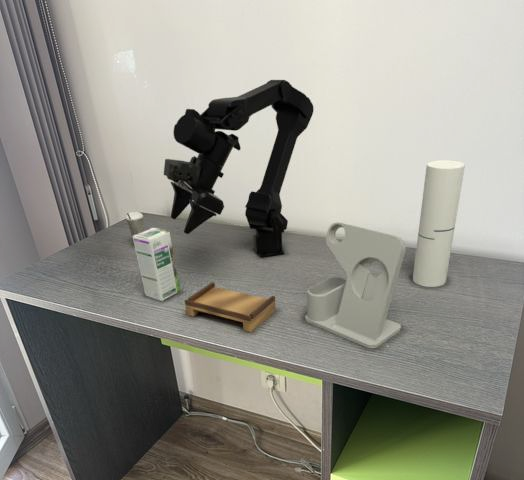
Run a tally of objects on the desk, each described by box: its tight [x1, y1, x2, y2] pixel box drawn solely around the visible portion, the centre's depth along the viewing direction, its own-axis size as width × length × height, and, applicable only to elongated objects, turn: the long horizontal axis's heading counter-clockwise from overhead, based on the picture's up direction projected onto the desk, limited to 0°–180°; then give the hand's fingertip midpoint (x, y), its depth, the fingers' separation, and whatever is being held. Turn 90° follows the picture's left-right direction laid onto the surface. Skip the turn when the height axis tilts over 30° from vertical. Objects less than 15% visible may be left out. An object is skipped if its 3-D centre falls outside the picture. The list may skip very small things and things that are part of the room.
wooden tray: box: [184, 282, 277, 333], centre depth 102 cm, size 16×10×4 cm, turn 59°
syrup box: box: [132, 227, 181, 302], centre depth 109 cm, size 6×6×14 cm
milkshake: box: [125, 211, 145, 243], centre depth 137 cm, size 4×5×10 cm
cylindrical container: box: [412, 159, 466, 288], centre depth 104 cm, size 7×7×25 cm
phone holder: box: [304, 222, 407, 349], centre depth 92 cm, size 17×10×18 cm, turn 45°
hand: (179, 225), depth 110 cm, fingers open, 9 cm apart
